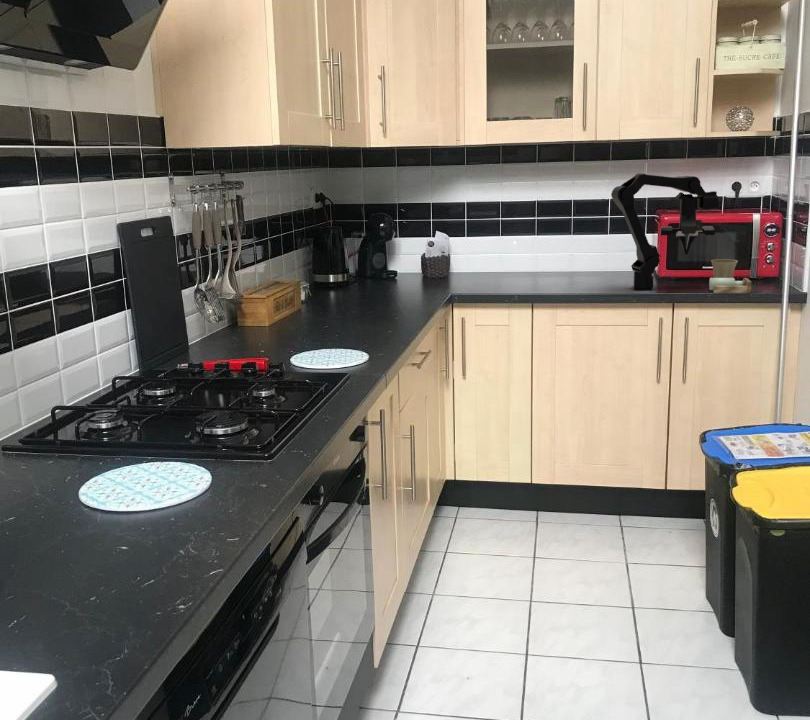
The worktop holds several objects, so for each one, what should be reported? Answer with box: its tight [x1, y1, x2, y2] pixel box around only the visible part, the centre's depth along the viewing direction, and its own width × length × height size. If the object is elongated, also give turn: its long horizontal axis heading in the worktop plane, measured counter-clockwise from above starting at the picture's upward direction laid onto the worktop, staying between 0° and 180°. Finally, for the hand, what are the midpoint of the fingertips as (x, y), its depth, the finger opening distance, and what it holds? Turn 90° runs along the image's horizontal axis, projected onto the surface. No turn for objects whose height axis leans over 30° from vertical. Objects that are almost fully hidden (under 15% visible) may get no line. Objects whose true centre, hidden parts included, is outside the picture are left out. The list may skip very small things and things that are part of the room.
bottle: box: [708, 277, 745, 291], centre depth 298 cm, size 4×4×12 cm
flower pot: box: [710, 258, 738, 278], centre depth 313 cm, size 9×9×9 cm
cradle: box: [711, 277, 752, 294], centre depth 298 cm, size 12×9×4 cm
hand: (685, 254), depth 307 cm, fingers closed
